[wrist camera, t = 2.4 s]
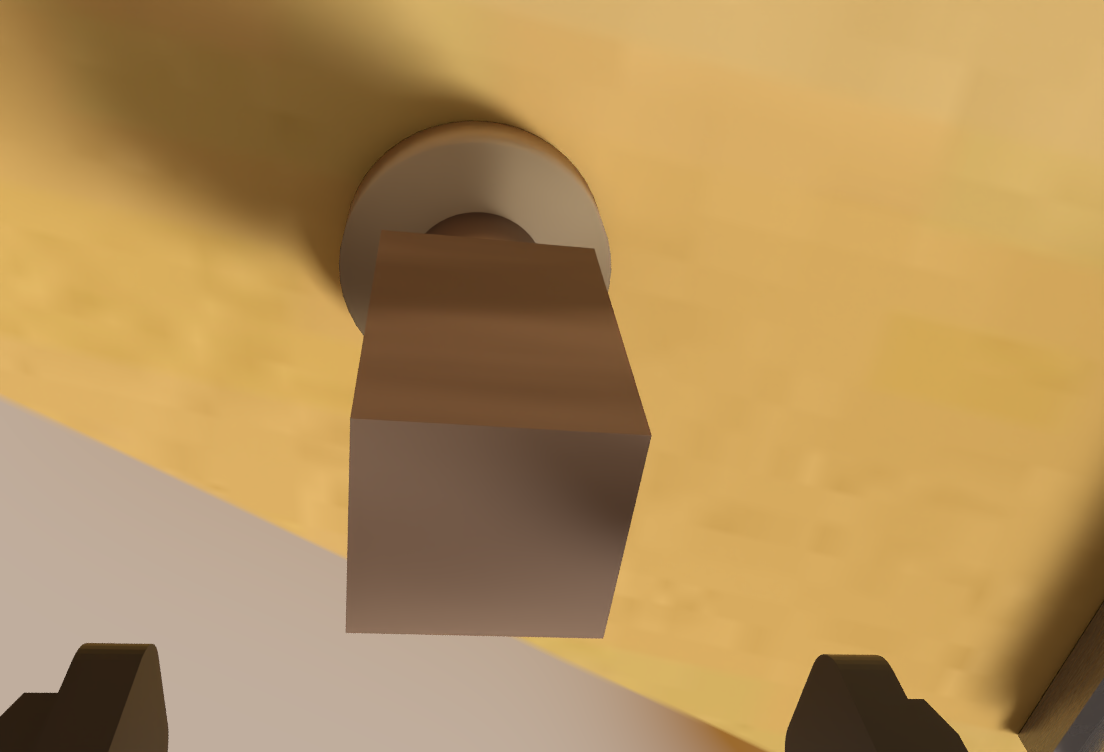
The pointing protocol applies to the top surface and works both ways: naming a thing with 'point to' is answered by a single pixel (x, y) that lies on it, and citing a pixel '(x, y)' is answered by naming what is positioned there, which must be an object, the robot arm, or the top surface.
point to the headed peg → (485, 393)
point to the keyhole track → (1073, 700)
